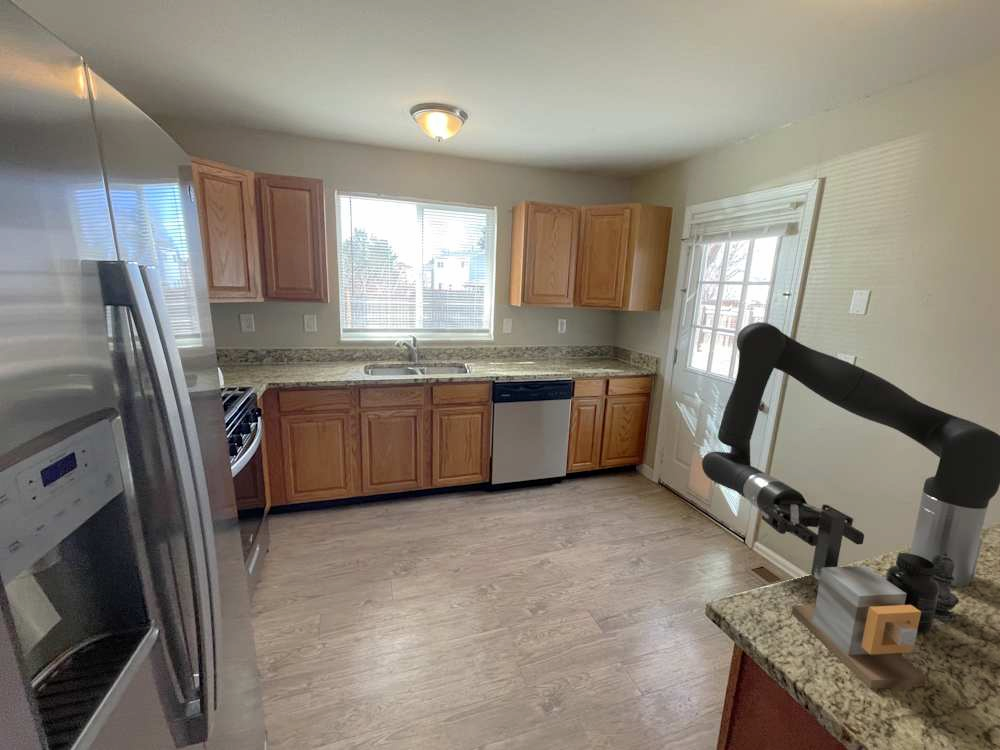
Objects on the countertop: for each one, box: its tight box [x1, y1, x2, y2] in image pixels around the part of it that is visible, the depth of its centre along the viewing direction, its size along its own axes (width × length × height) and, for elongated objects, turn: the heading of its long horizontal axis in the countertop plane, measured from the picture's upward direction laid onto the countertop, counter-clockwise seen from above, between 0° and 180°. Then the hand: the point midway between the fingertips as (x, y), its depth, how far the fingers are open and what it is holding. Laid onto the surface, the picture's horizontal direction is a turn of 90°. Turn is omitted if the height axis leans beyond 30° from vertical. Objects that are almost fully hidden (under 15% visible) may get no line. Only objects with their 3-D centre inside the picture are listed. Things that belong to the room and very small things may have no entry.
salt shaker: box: [932, 552, 960, 621], centre depth 79 cm, size 6×6×12 cm
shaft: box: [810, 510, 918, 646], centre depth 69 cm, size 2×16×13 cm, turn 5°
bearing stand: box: [791, 565, 928, 690], centre depth 70 cm, size 9×16×12 cm, turn 5°
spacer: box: [861, 605, 921, 655], centre depth 65 cm, size 7×2×7 cm, turn 95°
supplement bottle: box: [885, 552, 940, 634], centre depth 76 cm, size 7×7×12 cm
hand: (839, 540), depth 74 cm, fingers open, 8 cm apart
